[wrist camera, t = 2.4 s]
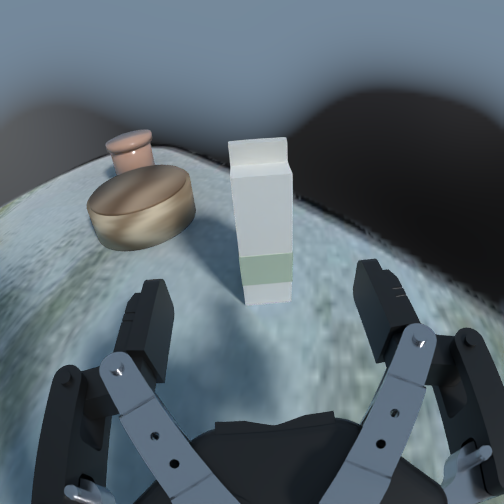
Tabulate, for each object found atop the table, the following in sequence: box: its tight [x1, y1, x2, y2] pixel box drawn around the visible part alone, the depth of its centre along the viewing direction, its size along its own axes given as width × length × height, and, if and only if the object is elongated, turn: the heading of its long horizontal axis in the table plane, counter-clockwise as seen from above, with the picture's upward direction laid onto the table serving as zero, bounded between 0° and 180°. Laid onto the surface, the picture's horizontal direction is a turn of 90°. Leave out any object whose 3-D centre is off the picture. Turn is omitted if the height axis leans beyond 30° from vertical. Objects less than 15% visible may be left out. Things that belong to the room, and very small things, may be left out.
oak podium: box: [87, 165, 196, 251], centre depth 38 cm, size 14×14×5 cm
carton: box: [228, 137, 293, 306], centre depth 25 cm, size 4×5×14 cm
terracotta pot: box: [106, 130, 155, 175], centre depth 49 cm, size 8×8×8 cm
